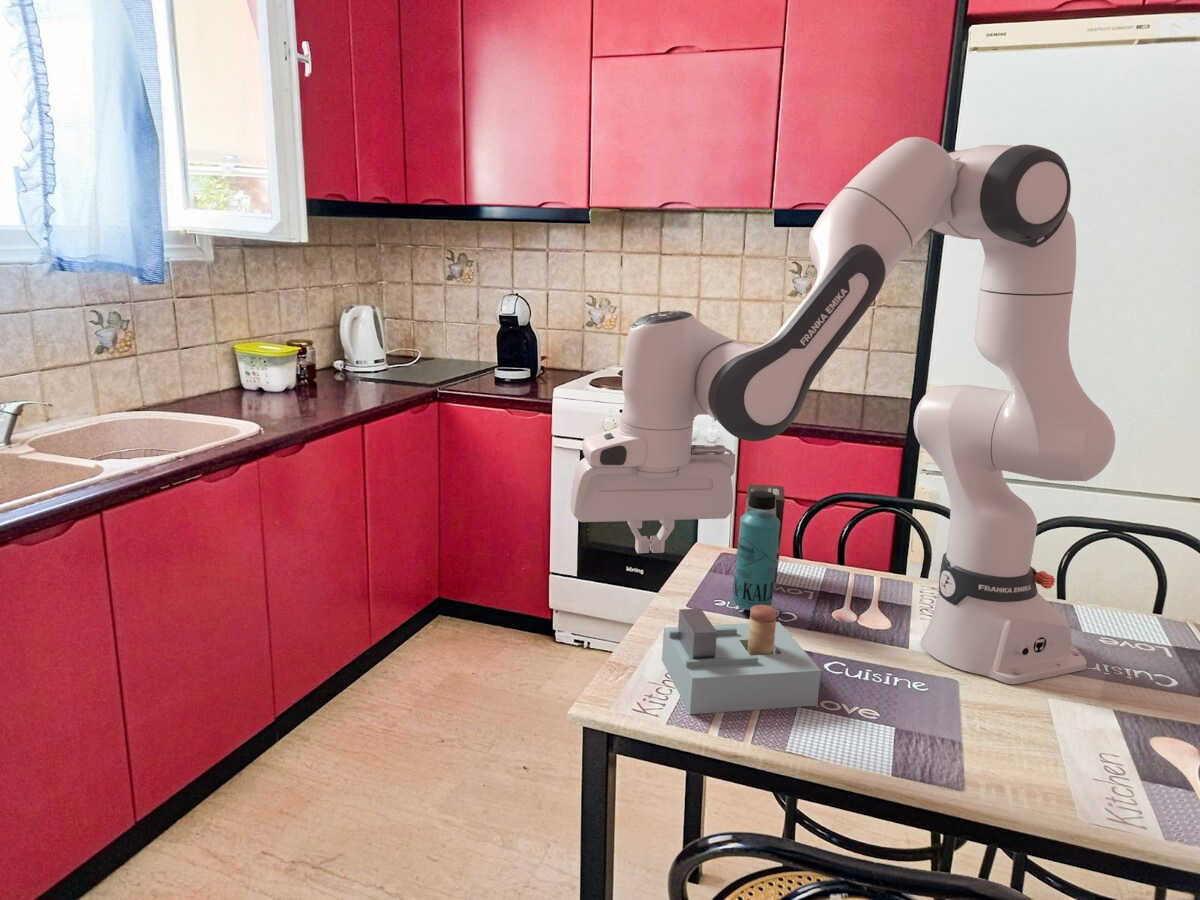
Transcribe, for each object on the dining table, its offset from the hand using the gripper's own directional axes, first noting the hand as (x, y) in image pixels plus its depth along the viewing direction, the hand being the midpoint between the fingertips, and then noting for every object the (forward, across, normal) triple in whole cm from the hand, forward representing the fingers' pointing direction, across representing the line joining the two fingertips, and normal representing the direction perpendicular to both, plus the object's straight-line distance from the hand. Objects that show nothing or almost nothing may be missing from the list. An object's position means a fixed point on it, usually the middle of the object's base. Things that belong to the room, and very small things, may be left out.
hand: (649, 551), depth 107 cm
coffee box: (+19, -29, -34) cm, 49 cm away
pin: (+19, -16, 0) cm, 25 cm away
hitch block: (+19, -13, 0) cm, 23 cm away
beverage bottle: (+19, -23, -21) cm, 37 cm away
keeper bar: (+14, -7, 0) cm, 15 cm away
